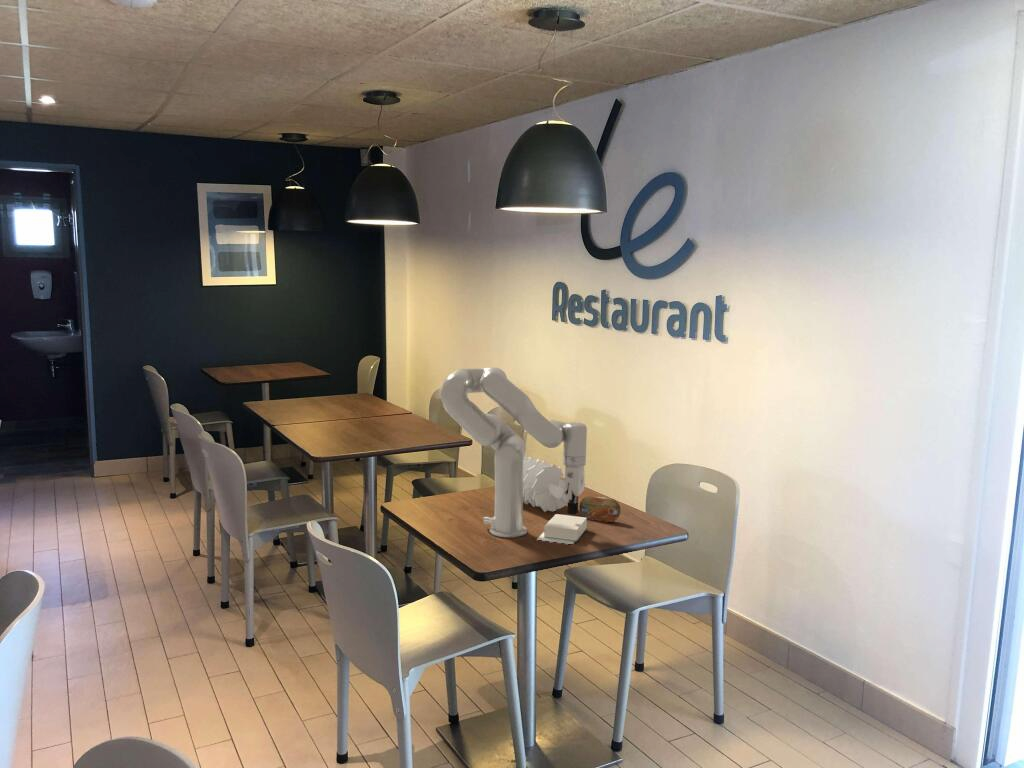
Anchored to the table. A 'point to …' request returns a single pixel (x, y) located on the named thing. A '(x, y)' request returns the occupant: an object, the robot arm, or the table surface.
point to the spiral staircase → (543, 485)
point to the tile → (565, 527)
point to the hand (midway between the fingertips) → (572, 513)
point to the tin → (600, 508)
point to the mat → (554, 540)
